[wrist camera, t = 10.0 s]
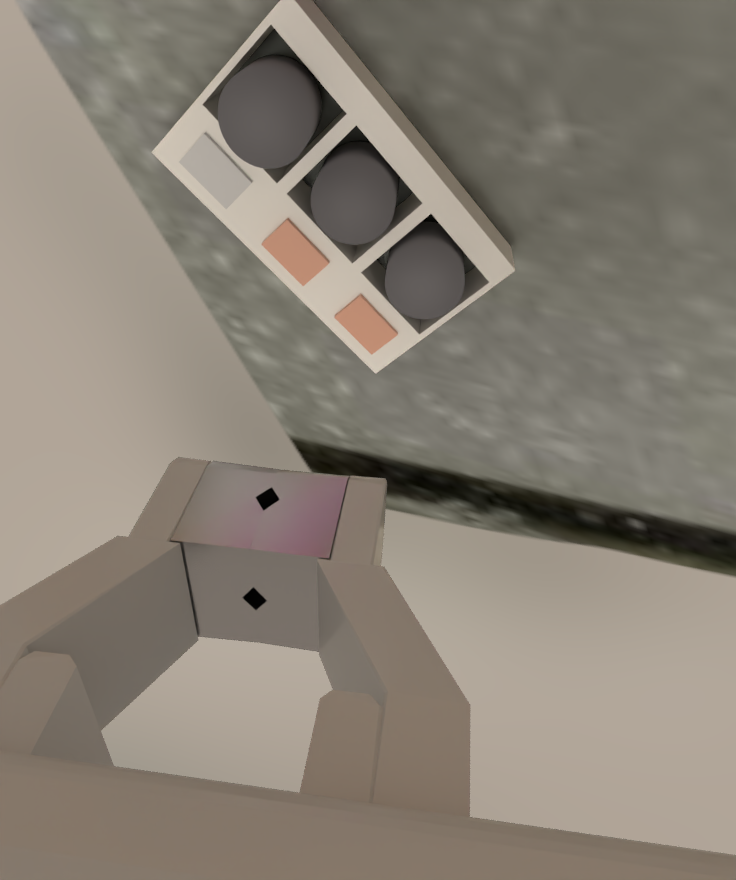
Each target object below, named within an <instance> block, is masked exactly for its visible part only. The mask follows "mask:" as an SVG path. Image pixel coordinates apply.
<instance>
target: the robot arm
mask: <svg viewBox="0 0 736 880" xmlns="http://www.w3.org/2000/svg"><path fill="white" fill-rule="evenodd" d="M386 494H387V481H386V479H383V478H371V477H360V476H341V475H331V474H321V473H310V472H300V471H290V470H280V469H273V468H265V467H257V466H249V465H242V464H234V463H226V462H218V461H212V462H211V461H206V460H198V459H190V458H182V457H178V458H176V459H175V460H173V461H172V462H171V463H170V464H169V466H168V468H167V470H166V471H165V473H164V475H163V477H162V478H161V480H160V482H159V484H158V485H157V487H156V489H155V491H154V492H153V494H152V496H151V498H150V499H149V501H148V503H147V505H146V506H145V508H144V510H143V512H142V514H141V515H140V517H139V519H138V521H137V522H136V524H135V526H134V528H133V529H132V531H131V533H130V535H129V537H123V536H117V537H115V538H113V539H112V540H110V541H108V542H107V543H105V544H103V545H101V546H100V547H98V548H96V549H95V550H93V551H91V552H90V553H88V554H86V555H85V556H83V557H81V558H79V559H78V560H76V561H74V562H73V563H71V564H69V565H68V566H66V567H64V568H62V569H61V570H59V571H57V572H56V573H54V574H52V575H51V576H49V577H47V578H46V579H44V580H42V581H40V582H39V583H37V584H35V585H34V586H32V587H30V588H29V589H27V590H25V591H24V592H22V593H20V594H19V595H17V596H15V597H13V598H12V599H10V600H8V601H7V602H5V603H3V604H2V605H0V880H736V855H731V854H725V853H718V852H711V851H704V850H697V849H690V848H683V847H676V846H669V845H661V844H655V843H648V842H641V841H634V840H627V839H620V838H613V837H606V836H599V835H591V834H585V833H578V832H571V831H564V830H557V829H550V828H543V827H536V826H529V825H522V824H515V823H508V822H501V821H494V820H487V819H480V818H473V817H470V704H469V702H468V701H467V699H466V698H465V696H464V694H463V693H462V691H461V690H460V688H459V686H458V685H457V683H456V682H455V680H454V678H453V677H452V675H451V673H450V672H449V670H448V669H447V667H446V665H445V664H444V662H443V661H442V659H441V657H440V656H439V654H438V653H437V651H436V649H435V648H434V646H433V644H432V643H431V641H430V640H429V638H428V636H427V635H426V633H425V632H424V630H423V629H422V627H421V625H420V624H419V622H418V620H417V619H416V617H415V615H414V614H413V612H412V611H411V609H410V608H409V606H408V604H407V603H406V601H405V600H404V598H403V596H402V595H401V593H400V591H399V590H398V588H397V587H396V585H395V583H394V582H393V580H392V578H391V577H390V575H389V574H388V572H387V570H386V569H385V568H384V567H383V566H381V559H382V549H383V536H384V523H385V508H386ZM198 637H208V638H219V639H228V640H238V641H249V642H260V643H265V644H272V645H279V646H286V647H291V648H299V649H304V650H311V651H317V652H319V655H320V658H321V661H322V663H323V665H324V668H325V671H326V673H327V675H328V678H329V681H330V683H331V686H332V688H333V690H332V691H330V692H329V693H327V694H326V695H325V696H323V697H322V698H320V701H319V707H318V710H317V715H316V720H315V725H314V729H313V733H312V738H311V743H310V747H309V752H308V757H307V761H306V766H305V770H304V775H303V780H302V784H301V789H300V793H298V792H291V791H284V790H277V789H269V788H263V787H256V786H249V785H242V784H235V783H228V782H221V781H214V780H207V779H200V778H193V777H186V776H179V775H172V774H165V773H158V772H151V771H144V770H136V769H130V768H123V767H115V766H114V765H113V763H112V760H111V757H110V754H109V752H108V749H107V746H106V744H105V741H104V738H103V736H102V733H101V730H102V729H103V728H104V727H105V726H106V725H107V724H109V723H110V722H111V721H112V720H113V719H114V718H115V717H116V716H117V715H118V714H119V713H120V712H122V711H123V710H124V709H125V708H126V707H127V706H128V705H129V704H130V703H131V702H132V701H133V700H134V699H136V698H137V696H139V695H140V694H141V693H142V692H143V691H144V690H145V689H146V688H147V687H148V686H149V685H151V683H153V682H154V681H155V680H156V679H157V678H158V677H159V676H160V675H161V674H162V673H163V672H165V671H166V670H167V669H168V668H169V667H170V666H171V665H172V664H173V663H174V662H175V661H176V660H178V659H179V658H180V657H181V656H182V655H183V654H184V653H185V652H186V651H187V650H188V649H189V648H190V647H192V646H193V645H194V644H195V643H196V642H197V641H198Z"/></svg>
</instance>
